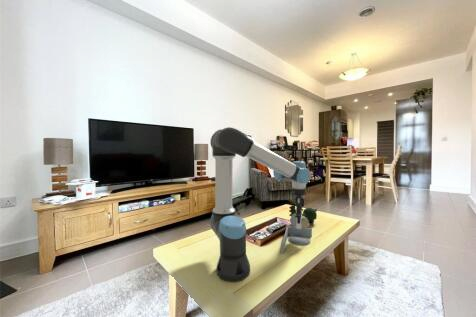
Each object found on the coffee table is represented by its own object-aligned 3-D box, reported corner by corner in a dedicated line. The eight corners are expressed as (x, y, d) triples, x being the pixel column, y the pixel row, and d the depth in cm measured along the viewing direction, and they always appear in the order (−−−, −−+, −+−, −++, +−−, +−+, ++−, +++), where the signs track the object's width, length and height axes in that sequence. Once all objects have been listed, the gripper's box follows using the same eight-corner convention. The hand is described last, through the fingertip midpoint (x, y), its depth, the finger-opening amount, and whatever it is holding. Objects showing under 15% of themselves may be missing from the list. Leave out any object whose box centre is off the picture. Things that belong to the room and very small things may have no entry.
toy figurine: (297, 232, 136) (323, 222, 147) (295, 204, 134) (321, 196, 146) (287, 227, 144) (312, 218, 156) (285, 201, 143) (311, 194, 154)
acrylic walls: (312, 258, 101) (312, 248, 100) (282, 253, 106) (281, 244, 105) (311, 236, 125) (311, 228, 125) (287, 233, 130) (287, 225, 130)
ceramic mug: (300, 231, 114) (300, 217, 113) (289, 226, 121) (289, 213, 120) (313, 227, 119) (313, 214, 119) (302, 223, 126) (302, 211, 126)
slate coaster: (310, 246, 112) (310, 245, 112) (287, 243, 116) (287, 242, 116) (310, 237, 124) (310, 236, 124) (289, 235, 128) (289, 234, 128)
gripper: (305, 192, 106) (305, 233, 107) (306, 184, 128) (306, 218, 129) (290, 191, 109) (291, 231, 110) (293, 184, 131) (294, 217, 132)
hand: (299, 224), depth 120 cm, fingers closed on ceramic mug, 11 cm apart
